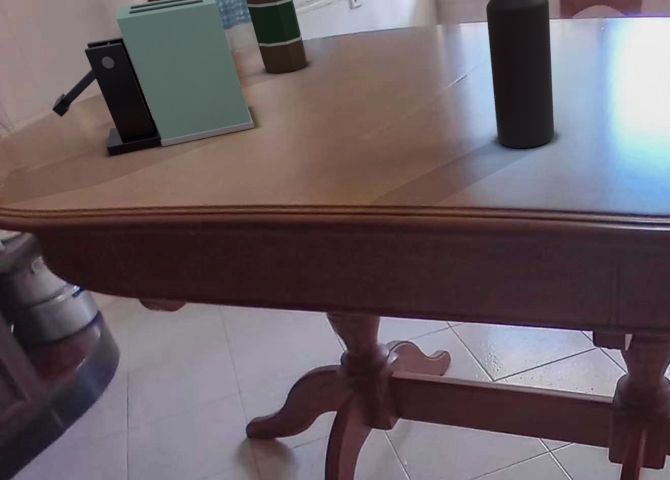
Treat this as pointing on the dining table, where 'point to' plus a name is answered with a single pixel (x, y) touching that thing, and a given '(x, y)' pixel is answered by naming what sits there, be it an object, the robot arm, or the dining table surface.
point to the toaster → (185, 68)
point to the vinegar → (521, 71)
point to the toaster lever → (73, 93)
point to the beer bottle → (277, 35)
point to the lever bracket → (122, 97)
